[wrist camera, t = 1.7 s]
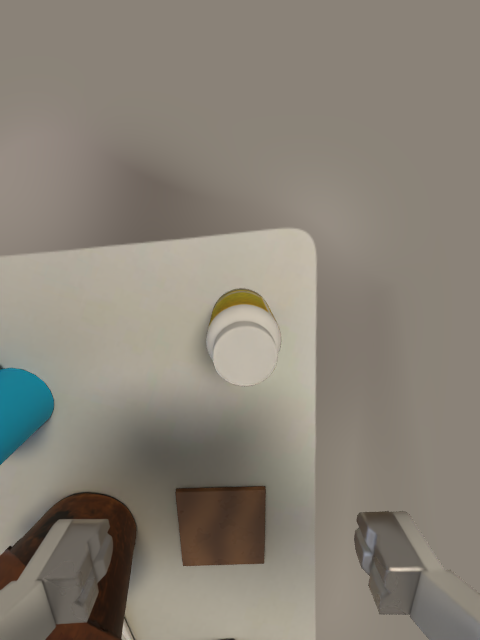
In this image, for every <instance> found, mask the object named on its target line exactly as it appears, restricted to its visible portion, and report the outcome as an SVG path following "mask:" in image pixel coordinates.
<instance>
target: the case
mask: <svg viewBox="0 0 480 640" xmlns="http://www.w3.org/2000/svg"><path fill="white" fill-rule="evenodd" d="M59 519H108V521H109V525H110V528H109V530H108V532H107V533H108V534H109V535H110V536H111V537H112V540H113V552H112V557H111V561H110V565H109V567H108V570H107V573H106V575H105V576H104V577H103V578H102V579H101V580H100V581H99V582H98V583H97V585H98V591H99V593H98V596H97V598H96V601H95V603H94V606H93V608H92V611H91V613H90V616H89V618H88V621H87V622H84V623H68V624H56V627H55V629H54V630H53V631H52V632H51V633H50V635H49V636H48V637H47V638H46V639H45V640H122V639H121V636H122V629H123V622H124V615H125V608H126V601H127V594H128V587H129V580H130V573H131V565H132V557H133V550H134V546H135V539H136V524H135V521H134V519H133V517H132V515H131V513H130V511H129V510H128V509H127V508H126V507H125V506H124V505H123V504H122V503H121V502H119V501H118V500H116V499H114V498H112V497H109V496H105V495H100V494H90V493H83V494H76V495H72V496H70V497H67V498H65V499H62V500H61V501H59V502H58V503H56V504H55V505H54V506H53V507H51V508H50V509H49V510H48V511H47V512H46V513H45V515H44V516H43V517H42V518H41V519H40V520H39V521H38V522H37V523H36V524H35V525H34V526H33V527H32V528H31V529H30V530H29V531H28V532H27V533H26V534H25V536H24V537H23V538H21V539H20V540H19V541H18V542H17V543H16V544H15V545H14V546H13V547H12V546H9V547H8V548H7V549H6V550H5V551H4V553H3V554H2V555H0V590H2V589H3V588H4V587H5V586H6V585H8V584H9V583H10V582H11V581H17V580H18V578H19V577H20V575H21V574H22V572H23V571H24V569H25V568H26V566H27V564H28V563H29V561H30V560H31V558H32V557H33V555H34V554H35V552H36V551H37V549H38V547H39V546H40V544H41V543H42V541H43V540H44V538H45V537H46V535H47V534H48V532H49V530H50V529H51V527H52V526H53V525H54V524H55V523H56V522H57V521H58V520H59Z"/></svg>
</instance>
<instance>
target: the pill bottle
mask: <svg viewBox="0 0 480 640" xmlns="http://www.w3.org/2000/svg"><path fill="white" fill-rule="evenodd" d="M206 345H207V350H208V353H209V355H210V357H211V359H212V360H213V364H214V367H215V369H216V371H217V372H218V374H219V375H220V376H221V377H222V378H223V379H224V380H226V381H227V382H229V383H231V384H234V385H238V386H252V385H256V384H258V383H260V382H262V381H264V380H265V379H267V378H268V377H269V376H270V375H271V374H272V372H273V371H274V369H275V367H276V364H277V360H278V353H279V351H280V347H281V333H280V329H279V326H278V324H277V322H276V320H275V318H274V316H273V314H272V312H271V310H270V308H269V306H268V305H267V303H266V301H265V300H264V299H263V297H262V296H260V295H259V294H258V293H256V292H255V291H252V290H250V289H244V288H239V289H234V290H231V291H228V292H227V293H225V294H223V295H222V296H221V297H220V298H219V299H218V301H217V302H216V304H215V306H214V309H213V312H212V316H211V320H210V323H209V327H208V331H207V336H206Z"/></svg>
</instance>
